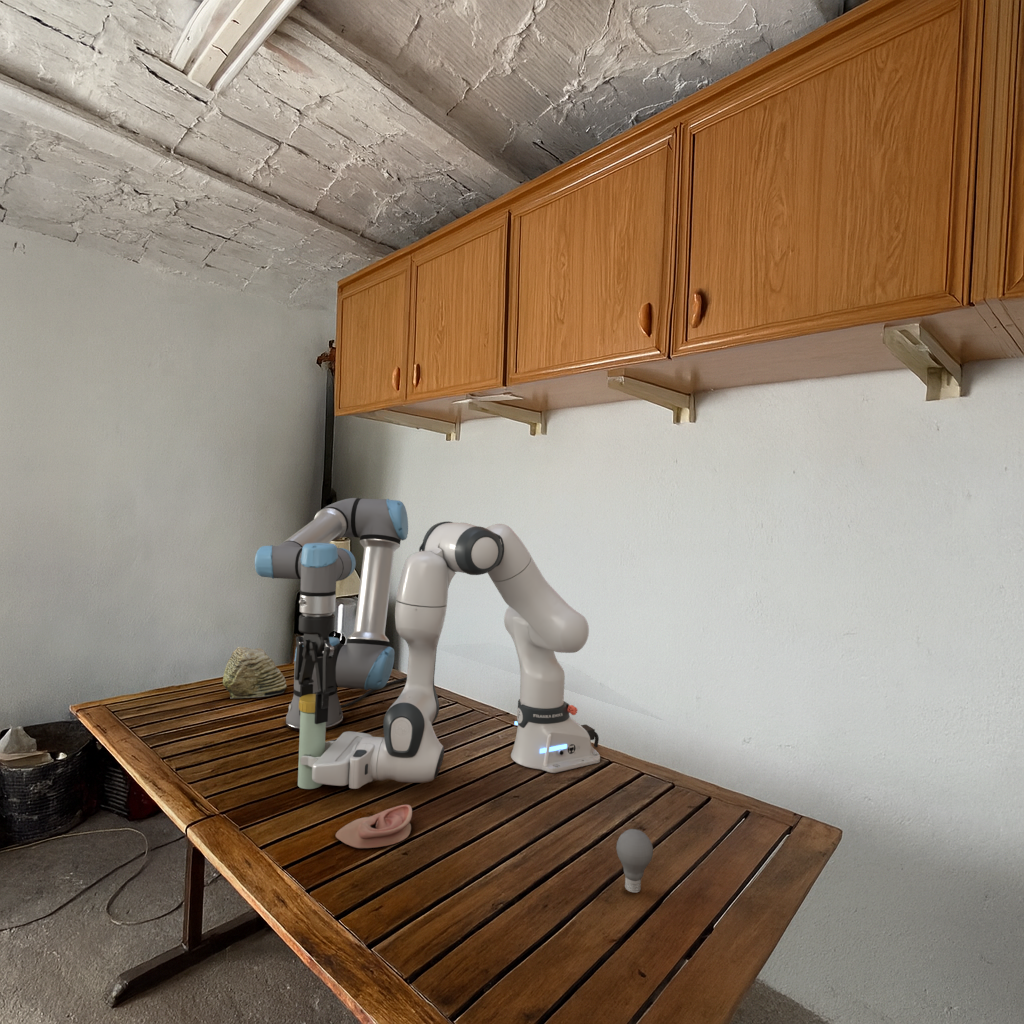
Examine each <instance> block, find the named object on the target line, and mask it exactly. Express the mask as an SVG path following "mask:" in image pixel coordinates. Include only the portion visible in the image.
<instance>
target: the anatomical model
mask: <svg viewBox="0 0 1024 1024" xmlns="http://www.w3.org/2000/svg"><path fill="white" fill-rule="evenodd" d="M412 817H413V808H412V806H411V805H410V804H401V805H396V806H393V807H390V808H388V809H385V810H382V811H380V812H378V813H375V814H373V815H370V816H364V817H361V818H357V819H355V820H352V821H350V822H349V823H346V824H345V825H344V826H342V827H341V828H340V829H338V830H337V832H335V838H336V839H337V840H338V841H341V842H342V843H344V844H345V845H348V846H349V847H352V848H355V849H372V848H373V849H374V848H381V847H388V846H391V845H395V844H397V843H400V842H402V841H404V840H405V839H408V837H409V836H410V834H411V831H412V824H411V821H412Z"/></svg>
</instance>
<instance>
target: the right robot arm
mask: <svg viewBox="0 0 1024 1024" xmlns="http://www.w3.org/2000/svg"><path fill="white" fill-rule="evenodd" d="M401 570H402V571H401V573H400V577H399V581H398V587H397V592H396V597H395V598H396V599H395V607H394V608H395V609H394V621H395V622H394V623H395V630H396V632H397V634H398V635H399V637H400V638H402V639H403V640H404V641H405V642H406V644H407V648H408V660H407V673H406V677H407V680H405V684H404V688H403V689H402V691H401V693H400V694H399V695H398V697H397V699H396V700H395V701H393V703H392V704H391V705H390V706H389V708H388V709H387V710H386V712H385V714H384V717H383V720H382V727H383V728H382V730H383V736H373V735H372V734H370V733H366V732H361V731H360V732H359V731H352V730H347V731H343V732H342V733H341V734H340V735H339V736H338V737H337V739H335V740H328V741H325V752H324V754H323V755H322V756H321V757H316V758H315V757H312V756H311V754H304V755H303V756H302V757H301V759H300V763H301V765H308V766H310V767H312V780H313V781H314V782H316V783H319V784H323V785H326V786H335V787H336V786H337V787H345V786H347V785H348V788H349V789H353V790H356V789H360V788H361V787H363V786H365V785H367V784H368V783H372V782H374V781H379V782H382V781H387V780H390V781H391V780H392V781H395V782H398V783H404V784H405V783H406V784H407V783H408V784H422V783H430V782H432V781H434V780H435V779H436V778H437V777H438V775H439V774H440V771H441V767H442V765H443V761H444V757H445V747H444V745H443V744H442V743H441V742H440V740H439V739H438V737H437V734H436V732H435V730H434V728H433V727H434V726H433V724H434V722H435V721H436V719H437V718H438V716H439V712H440V701H439V697H438V693H437V690H436V687H435V673H436V661H437V652H438V651H437V649H438V645H439V642H440V638H441V634H442V632H443V628H444V624H445V619H446V615H447V609H448V608H447V607H448V600H449V599H448V598H449V587H450V586H451V585H450V584H451V583H452V581H453V578H454V577H455V575H456V574H457V573H462V574H466V575H469V576H481V575H485V574H488V577H489V578H490V580H491V582H492V583H493V585H494V586H495V588H496V590H497V591H498V593H499V595H500V596H501V598H502V599H503V601H504V602H505V604H506V605H507V606H508V607H507V608H506V610H505V613H504V616H503V617H504V618H503V622H504V623H503V624H504V627H505V630H506V631H507V633H508V634H509V635H510V638H511V639H512V641H513V644H514V648H515V650H516V655H517V658H518V664H519V673H520V677H519V678H520V680H519V681H520V683H519V685H520V686H519V699H518V700H517V708H516V709H517V710H516V720H515V721H514V726H516V727H517V728H516V734H515V739H514V743H513V746H512V750H511V753H510V758H511V759H512V761H513V762H514V763H516V764H517V765H519V766H523V767H526V768H530V769H535V770H541V771H544V772H547V773H551V774H556V773H561V772H565V771H570V770H574V769H577V768H582V767H586V766H591V765H596V764H599V763H600V762H601V755H600V753H599V752H598V750H597V749H596V748H598V746H599V740H600V739H599V735H598V733H597V731H596V729H595V728H593V727H592V726H590V725H588V724H580V723H579V722H577V721H576V720H575V719H574V718H573V717H571V716H576V715H577V713H578V711H579V710H578V708H577V707H576V706H575V705H573V704H570V703H568V702H567V701H565V684H566V683H565V682H566V681H565V680H566V674H565V670H564V668H563V667H562V665H561V664H560V662H559V661H558V659H557V657H556V653H561V654H562V653H564V654H574V653H577V652H579V651H581V650H582V649H583V648H584V646H585V645H586V643H587V641H588V639H589V634H590V627H589V623H588V620H587V618H586V617H585V616H584V615H583V614H582V613H580V612H578V611H577V610H576V609H574V608H573V607H572V606H570V605H569V604H568V602H567V601H566V600H565V599H564V598H563V597H562V596H561V595H560V594H559V593H558V592H557V591H556V590H555V589H554V587H552V585H551V584H550V583H549V582H548V581H547V579H546V578H545V577H544V575H543V574H542V572H541V570H540V569H539V567H538V565H537V564H536V562H535V560H534V559H533V557H532V555H531V553H530V552H529V549H528V548H527V546H526V545H525V543H524V542H523V541H522V540H521V538H520V537H519V536H518V535H517V533H516V532H515V531H514V530H513V529H512V528H511V526H509V525H507V524H505V523H495V524H492V525H489V526H487V527H484V526H480V525H479V526H478V525H474V524H471V523H467V522H453V521H441V522H438V523H436V524H433V525H432V526H430V528H429V529H428V530H427V531H426V533H425V534H424V537H423V539H422V543H421V544H420V546H419V548H418V551H416V552H413V553H412V554H410V555H408V557H407V558H406V559H405V561H404V564H403V567H402V569H401ZM570 715H571V716H570ZM592 741H594V743H593V746H592Z"/></svg>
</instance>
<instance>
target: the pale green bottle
mask: <svg viewBox="0 0 1024 1024" xmlns="http://www.w3.org/2000/svg"><path fill="white" fill-rule="evenodd" d="M326 732H327V730H326V722H323V723H319V724H315V713H307V712H302V711H300V731H299V737H298V738H299V740H298V741H299V742H298V763H297V764H298V768H297V769H298V770H297V786H298V787H299V789H304V790H314V789H317V788H320V787H322V786H323V785H324V784H319V783H316V782H314V781H313V780H312V767H310V766H308V765H301V763H300V759H301V757H302V756H303V755H304V754H311V756H312V757H315V758H316V757H321V756H322V755H323V754H324V752H325V742H326V734H327V733H326Z"/></svg>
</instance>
